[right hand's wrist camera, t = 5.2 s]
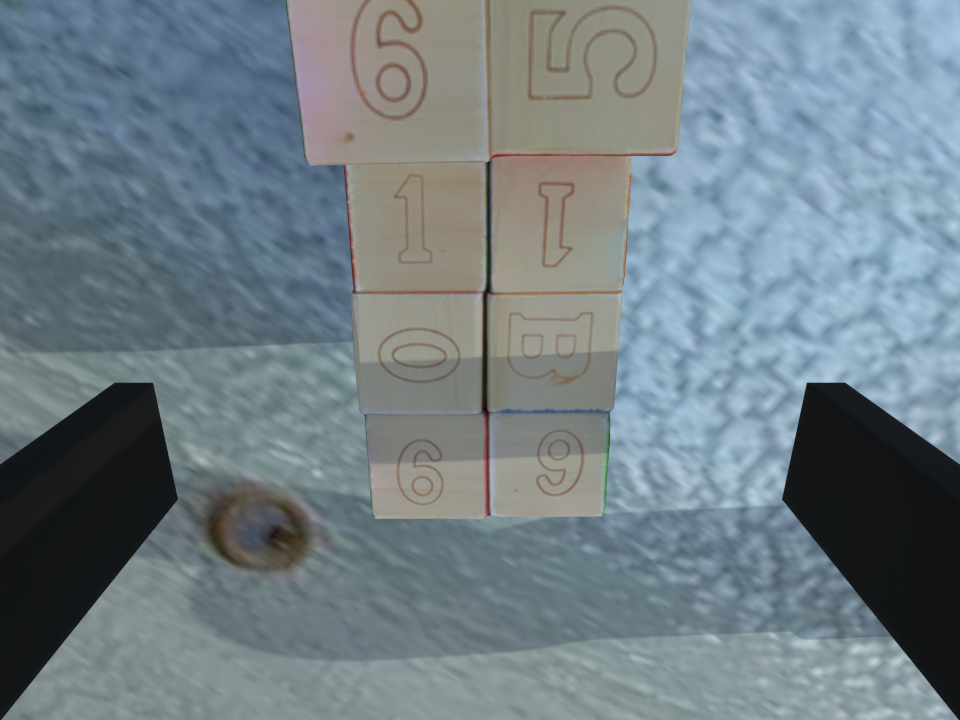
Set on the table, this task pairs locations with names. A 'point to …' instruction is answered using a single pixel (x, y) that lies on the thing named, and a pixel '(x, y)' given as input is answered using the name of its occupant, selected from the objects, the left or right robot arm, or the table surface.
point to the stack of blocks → (487, 231)
